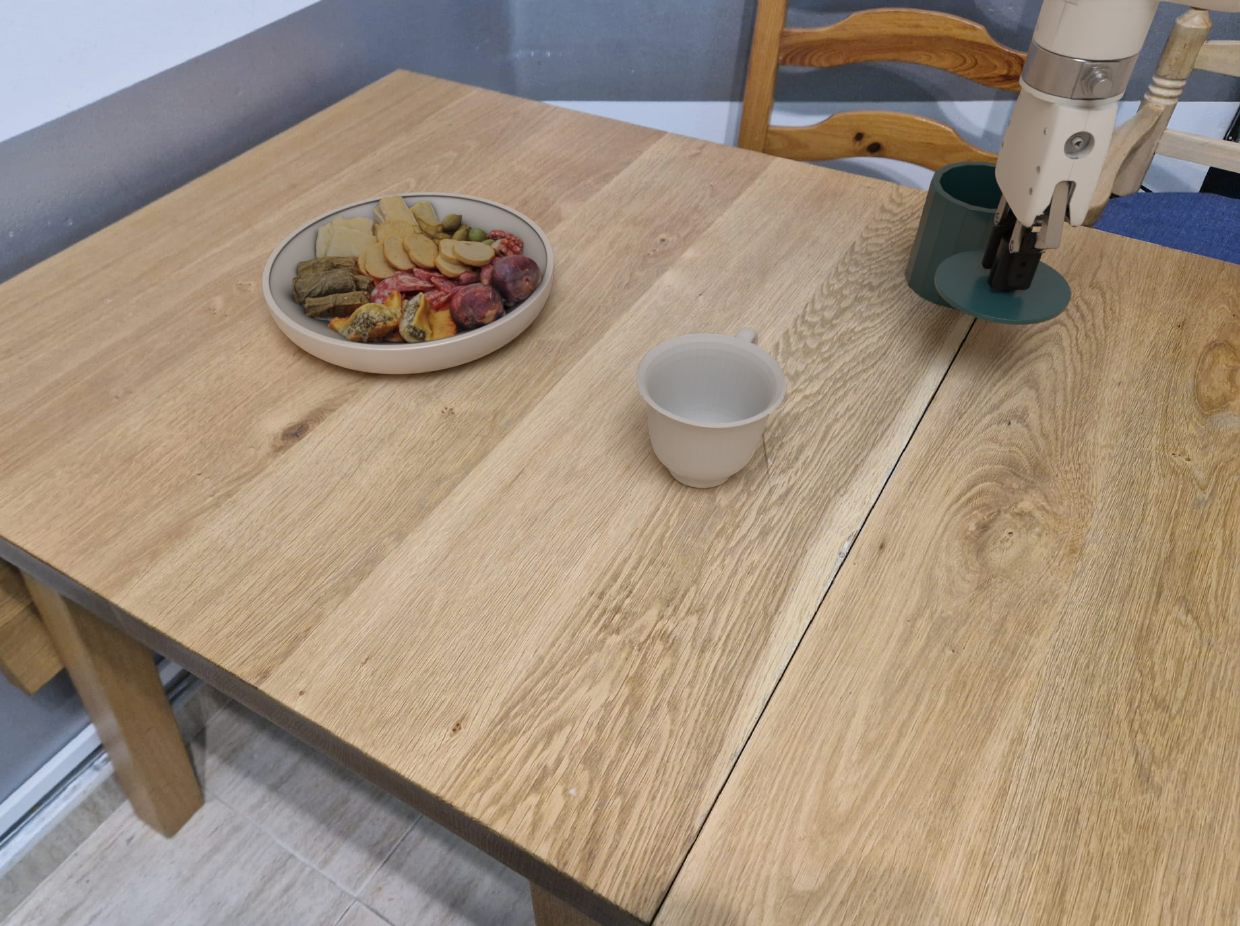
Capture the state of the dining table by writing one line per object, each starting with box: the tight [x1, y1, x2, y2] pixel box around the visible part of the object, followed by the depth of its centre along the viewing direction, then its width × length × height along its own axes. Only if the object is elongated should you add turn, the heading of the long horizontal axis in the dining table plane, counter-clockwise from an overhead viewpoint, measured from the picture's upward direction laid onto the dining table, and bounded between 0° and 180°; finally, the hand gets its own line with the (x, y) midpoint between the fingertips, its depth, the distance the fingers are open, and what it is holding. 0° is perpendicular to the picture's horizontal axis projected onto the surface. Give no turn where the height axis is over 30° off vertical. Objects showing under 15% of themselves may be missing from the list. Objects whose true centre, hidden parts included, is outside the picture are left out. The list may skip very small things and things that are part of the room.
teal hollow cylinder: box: [904, 160, 1034, 310], centre depth 97 cm, size 11×11×12 cm
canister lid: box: [934, 231, 1072, 326], centre depth 84 cm, size 12×12×6 cm
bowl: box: [261, 191, 555, 375], centre depth 98 cm, size 30×30×8 cm
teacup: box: [635, 326, 787, 489], centre depth 80 cm, size 12×15×10 cm
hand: (1004, 276), depth 84 cm, fingers closed on canister lid, 2 cm apart
